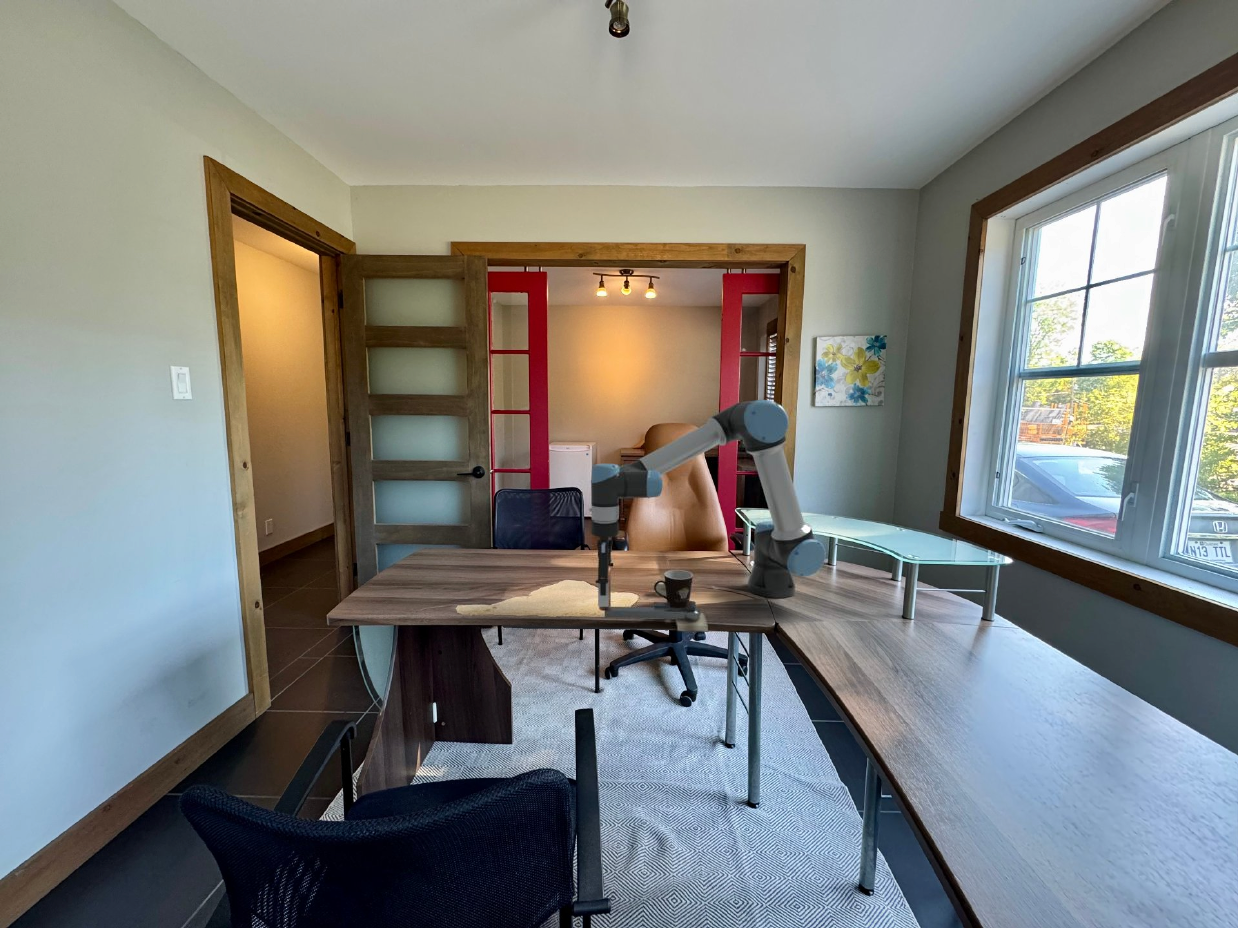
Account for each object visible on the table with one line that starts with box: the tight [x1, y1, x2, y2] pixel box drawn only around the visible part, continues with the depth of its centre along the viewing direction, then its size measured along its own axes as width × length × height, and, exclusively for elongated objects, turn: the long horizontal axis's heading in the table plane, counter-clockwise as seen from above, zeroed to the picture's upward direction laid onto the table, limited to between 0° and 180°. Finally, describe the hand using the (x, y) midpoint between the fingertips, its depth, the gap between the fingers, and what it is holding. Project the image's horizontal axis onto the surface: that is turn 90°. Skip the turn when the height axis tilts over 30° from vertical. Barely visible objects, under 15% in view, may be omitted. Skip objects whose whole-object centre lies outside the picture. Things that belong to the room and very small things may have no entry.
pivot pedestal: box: [675, 600, 709, 632], centre depth 129 cm, size 8×8×6 cm
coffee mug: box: [653, 569, 694, 608], centre depth 142 cm, size 12×9×10 cm
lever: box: [598, 565, 701, 621], centre depth 130 cm, size 28×6×14 cm, turn 88°
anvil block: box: [654, 580, 667, 597], centre depth 151 cm, size 10×3×4 cm, turn 88°
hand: (604, 597), depth 130 cm, fingers open, 11 cm apart
